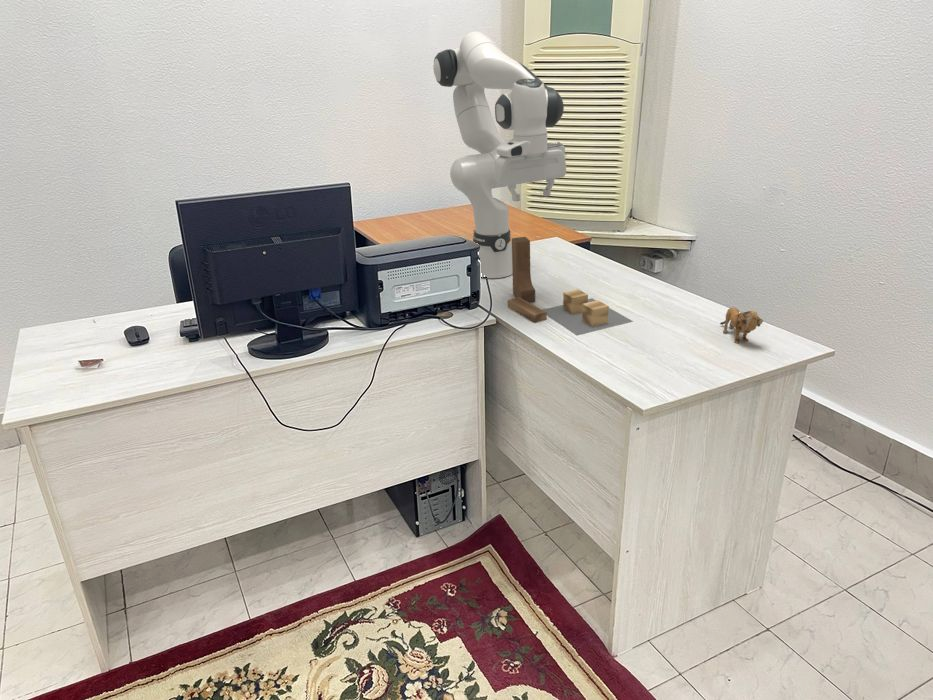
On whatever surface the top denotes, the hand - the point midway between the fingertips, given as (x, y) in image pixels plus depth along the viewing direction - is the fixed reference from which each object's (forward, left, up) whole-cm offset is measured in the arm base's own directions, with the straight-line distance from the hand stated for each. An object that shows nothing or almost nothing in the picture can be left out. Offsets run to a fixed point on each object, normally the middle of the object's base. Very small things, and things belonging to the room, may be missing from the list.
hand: (531, 198), depth 184 cm
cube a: (+8, +9, -32) cm, 34 cm away
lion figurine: (+44, +36, -33) cm, 65 cm away
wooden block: (-8, +1, -32) cm, 33 cm away
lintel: (+3, -4, -33) cm, 33 cm away
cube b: (+18, +9, -32) cm, 38 cm away
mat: (+13, +9, -32) cm, 36 cm away
